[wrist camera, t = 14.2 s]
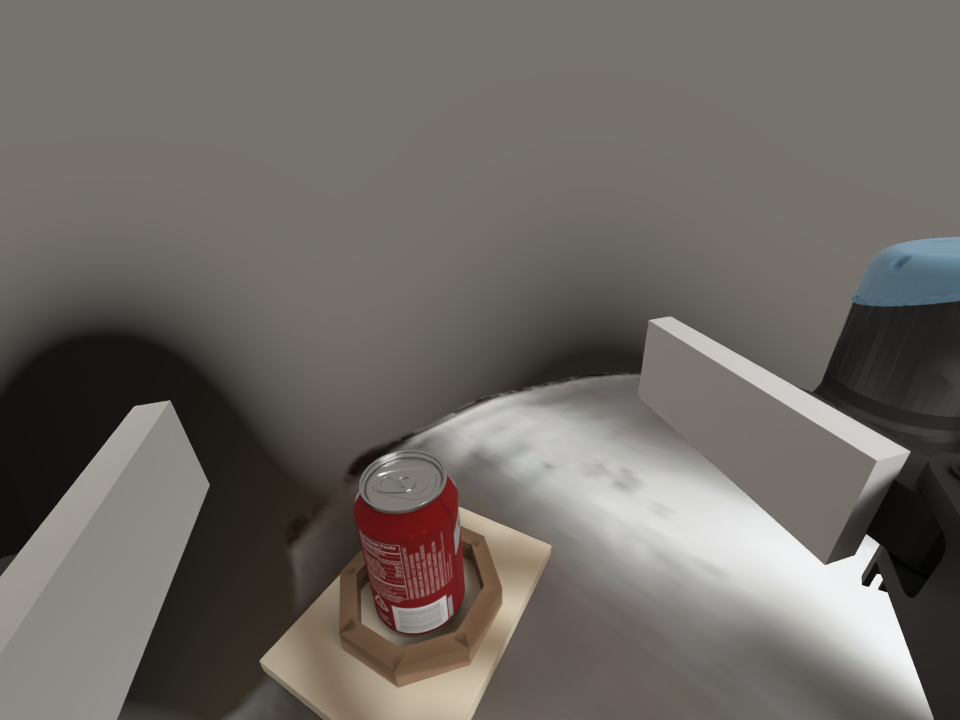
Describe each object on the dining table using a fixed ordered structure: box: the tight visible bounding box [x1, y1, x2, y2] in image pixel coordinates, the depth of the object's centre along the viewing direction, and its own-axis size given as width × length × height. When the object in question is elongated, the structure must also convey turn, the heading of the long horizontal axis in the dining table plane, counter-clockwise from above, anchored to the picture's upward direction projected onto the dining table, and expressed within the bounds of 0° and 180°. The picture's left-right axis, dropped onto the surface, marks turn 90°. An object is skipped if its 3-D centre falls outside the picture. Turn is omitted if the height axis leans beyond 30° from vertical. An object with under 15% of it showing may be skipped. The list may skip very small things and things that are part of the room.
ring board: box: [260, 507, 551, 720], centre depth 33 cm, size 18×14×3 cm
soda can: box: [354, 450, 465, 637], centre depth 30 cm, size 7×7×12 cm
